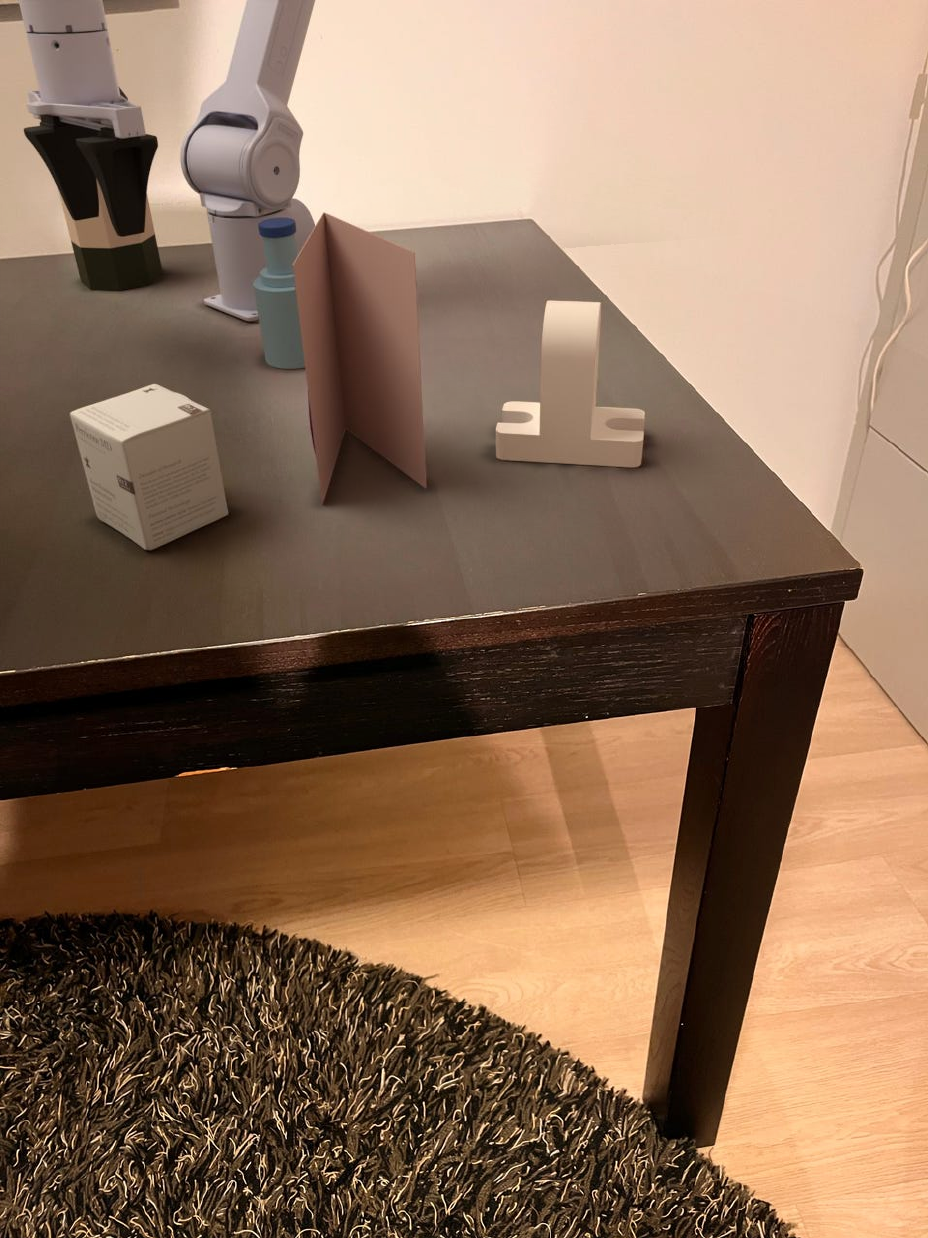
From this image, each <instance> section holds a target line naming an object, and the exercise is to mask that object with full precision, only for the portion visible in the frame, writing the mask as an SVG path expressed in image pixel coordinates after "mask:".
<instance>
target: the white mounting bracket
mask: <svg viewBox="0 0 928 1238" xmlns="http://www.w3.org/2000/svg"><path fill="white" fill-rule="evenodd" d="M543 315H544V316H543V324H542V335H541V353H540V355H541V356H540V357H541V358H540V389H539V390H540V393H539V394H540V395H539V402H534V401H516V400H515V401H513V400H511V401H507V402H504V403H503V406H502V409H501V422H499V421H497V422H496V426H495V457H496V459H498V460H501V461H515V462H530V463H531V462H532V463H533V462H534V463H548V464H549V463H550V464H567V465H581V466H583V465H584V466H598V467H599V466H600V467H617V468H619V467H621V468H638V467H640V466H641V465H642V458H643V447H644V437H645V436H644V435H645V431H644V429H645V427H644V426H645V417H646V413H645V411H644V410H643V409H640V408H632V407H631V408H630V407H612V406H611V407H610V406H596V403H597V390H598V389H597V388H598V371H599V357H600V356H599V355H600V337H601V323H602V321H601V320H602V302H600V301H576V300H575V301H574V300H573V301H572V300H547V301H546V303H545V309H544V314H543Z"/></svg>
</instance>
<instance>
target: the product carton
mask: <svg viewBox="0 0 928 1238" xmlns="http://www.w3.org/2000/svg"><path fill="white" fill-rule="evenodd" d="M69 418H70V420H71V424H72V428H73V432H74V435H75V439H76V443H77V447H78V450H79V455H80V458H81V462H82V466H83V470H84V473H85V477H86V481H87V484H88V489H89V493H90V497H91V500H92V504H93V508H94V511H95V515H96V517H97V518H98V520H99V521H101V522H102V523H105V524H107V526H110V527H111V528H113V529H114V530H116V531H118V532H120V534H122V535H123V536H125V537H127V538H128V539H130V540H131V541H132V542H133V543H135V544H136V545H138V546H139V547H141V548H142V549H143V550H145V551H153V550H155V549H158V548H160V547H162V546H164V545H167V544H169V543H171V542H173V541H175V540H177V539H179V538H181V537H183V536H186V535H188V534H190V533H193V532H194V531H197V530H199V529H201V528H202V527H204V526H207V525H209V524H212V523H214V522H216V521H218V520H220V519H222V518H224V517H227V516H229V508H228V503H227V497H226V492H225V487H224V486H225V485H224V481H223V476H222V475H223V474H222V471H221V464H220V458H219V457H220V456H219V452H218V446H217V439H216V435H215V434H216V433H215V430H214V424H213V418H212V412H211V410H210V409H209V408H208V407H205V406H203V405H201V404H199V403H197V402H195V401H193V400H191V399H190V398H189V397H187V396H186V395H183V394H182V393H179V392H175V391H173V390H170V389H168V388H167V387H164V386H162V385H159V384H157V383H152V384H149V385H146V386H144V387H141V388H138V389H135V390H132V391H129V392H127V393H123V394H120V395H117V396H114V397H111V398H107V399H104V400H101V401H98V402H96V403H92V404H89V405H86V406H83V407H80V408H76V409H75V410H72V411H71V412H70V413H69Z"/></svg>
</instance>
